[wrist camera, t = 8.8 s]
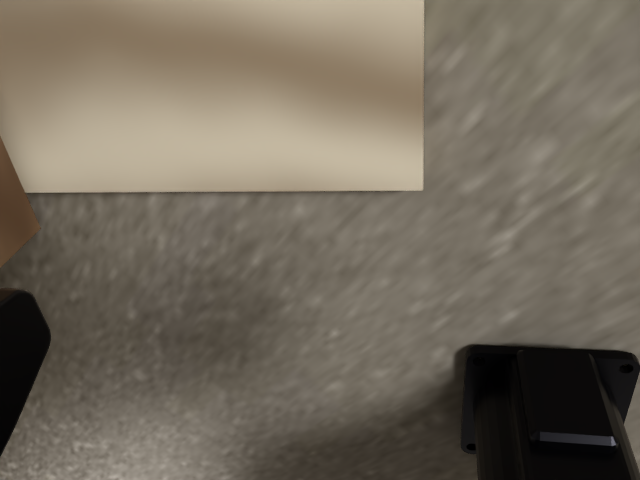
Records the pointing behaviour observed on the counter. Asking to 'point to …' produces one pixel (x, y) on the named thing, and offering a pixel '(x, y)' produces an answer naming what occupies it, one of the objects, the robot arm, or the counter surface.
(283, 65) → the flat beige square board
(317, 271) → the counter surface
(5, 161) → the walnut bar
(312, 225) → the counter surface
